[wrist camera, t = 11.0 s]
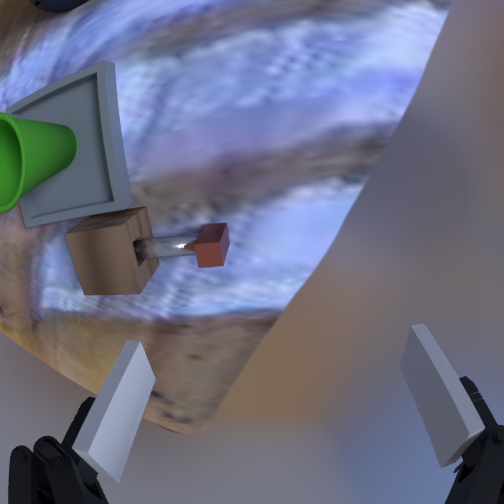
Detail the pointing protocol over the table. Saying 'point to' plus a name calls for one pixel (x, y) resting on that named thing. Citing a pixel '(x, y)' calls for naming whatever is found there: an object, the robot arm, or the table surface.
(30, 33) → the table surface
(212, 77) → the table surface
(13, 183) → the cup
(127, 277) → the mount
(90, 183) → the tray
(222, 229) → the pin
